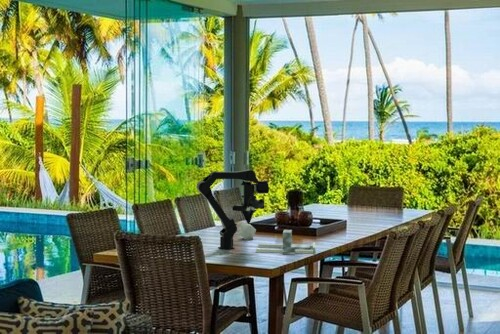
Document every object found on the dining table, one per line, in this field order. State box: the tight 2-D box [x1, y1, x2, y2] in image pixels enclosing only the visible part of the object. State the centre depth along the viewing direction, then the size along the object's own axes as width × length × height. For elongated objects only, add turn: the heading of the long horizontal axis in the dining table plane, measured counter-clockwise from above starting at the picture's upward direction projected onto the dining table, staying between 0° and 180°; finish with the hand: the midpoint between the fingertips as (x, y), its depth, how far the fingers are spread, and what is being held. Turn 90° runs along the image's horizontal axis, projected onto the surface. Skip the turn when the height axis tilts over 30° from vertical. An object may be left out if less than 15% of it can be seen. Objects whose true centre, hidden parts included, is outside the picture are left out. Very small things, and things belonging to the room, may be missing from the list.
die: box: [238, 223, 257, 240], centre depth 493 cm, size 8×9×10 cm
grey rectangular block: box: [282, 229, 312, 252], centre depth 454 cm, size 14×10×10 cm
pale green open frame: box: [255, 242, 316, 254], centre depth 454 cm, size 30×18×3 cm, turn 86°
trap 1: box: [282, 251, 296, 256], centre depth 442 cm, size 6×6×1 cm
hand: (248, 223), depth 458 cm, fingers closed
